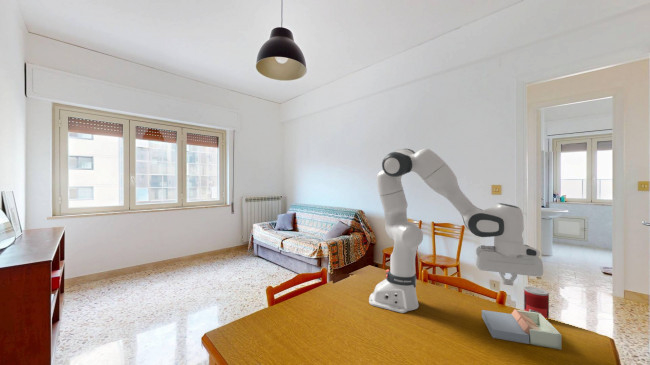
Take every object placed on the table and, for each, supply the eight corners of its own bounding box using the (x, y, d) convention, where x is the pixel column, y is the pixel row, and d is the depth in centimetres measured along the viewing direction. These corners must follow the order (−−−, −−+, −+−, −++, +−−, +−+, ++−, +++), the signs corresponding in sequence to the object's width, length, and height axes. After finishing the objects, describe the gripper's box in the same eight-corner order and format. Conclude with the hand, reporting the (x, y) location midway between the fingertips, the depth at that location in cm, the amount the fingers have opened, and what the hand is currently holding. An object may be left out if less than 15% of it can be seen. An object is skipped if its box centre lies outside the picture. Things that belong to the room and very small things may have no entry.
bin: (530, 344, 88) (530, 329, 88) (514, 321, 102) (514, 309, 102) (561, 349, 85) (561, 334, 85) (540, 325, 99) (540, 313, 99)
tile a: (517, 321, 96) (520, 316, 96) (511, 313, 102) (514, 308, 101) (533, 331, 94) (537, 326, 94) (527, 323, 100) (530, 318, 100)
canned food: (553, 321, 102) (553, 294, 102) (530, 319, 104) (530, 293, 104) (541, 312, 110) (541, 287, 110) (520, 310, 111) (520, 285, 111)
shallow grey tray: (492, 337, 92) (492, 329, 92) (481, 316, 106) (481, 309, 106) (529, 344, 88) (529, 335, 88) (512, 321, 102) (513, 314, 102)
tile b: (524, 331, 90) (528, 325, 89) (517, 322, 95) (521, 317, 95) (541, 342, 88) (546, 337, 87) (534, 333, 94) (538, 327, 93)
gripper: (478, 246, 94) (478, 283, 94) (545, 252, 87) (545, 292, 87) (474, 243, 100) (474, 277, 100) (537, 248, 93) (536, 285, 93)
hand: (507, 284), depth 94 cm, fingers closed
